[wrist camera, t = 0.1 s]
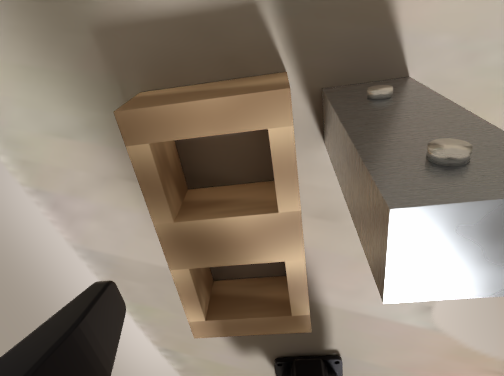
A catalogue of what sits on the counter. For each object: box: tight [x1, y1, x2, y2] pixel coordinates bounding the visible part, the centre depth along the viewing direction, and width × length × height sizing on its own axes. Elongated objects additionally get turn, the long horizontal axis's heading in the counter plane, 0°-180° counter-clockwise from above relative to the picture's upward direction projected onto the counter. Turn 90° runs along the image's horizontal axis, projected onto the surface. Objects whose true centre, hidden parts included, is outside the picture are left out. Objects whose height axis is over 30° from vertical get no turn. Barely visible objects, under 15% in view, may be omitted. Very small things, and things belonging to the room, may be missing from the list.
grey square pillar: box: [322, 77, 504, 304], centre depth 15 cm, size 4×5×13 cm
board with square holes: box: [114, 72, 312, 338], centre depth 23 cm, size 18×9×4 cm, turn 8°
